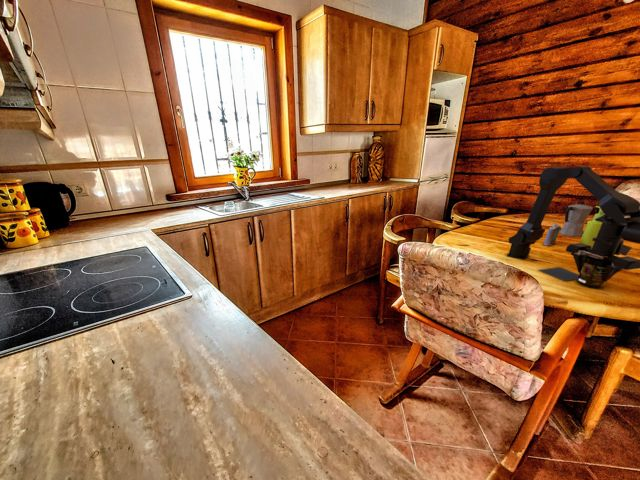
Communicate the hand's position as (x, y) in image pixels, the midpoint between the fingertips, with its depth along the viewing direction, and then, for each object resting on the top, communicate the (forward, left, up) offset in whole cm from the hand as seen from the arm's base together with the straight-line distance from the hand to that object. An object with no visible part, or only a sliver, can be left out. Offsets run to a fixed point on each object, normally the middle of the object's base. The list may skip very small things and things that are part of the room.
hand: (592, 277), depth 101 cm
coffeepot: (-15, +67, -3) cm, 68 cm away
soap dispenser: (-6, +46, -3) cm, 46 cm away
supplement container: (0, 0, -3) cm, 3 cm away
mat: (-8, +5, -3) cm, 10 cm away
